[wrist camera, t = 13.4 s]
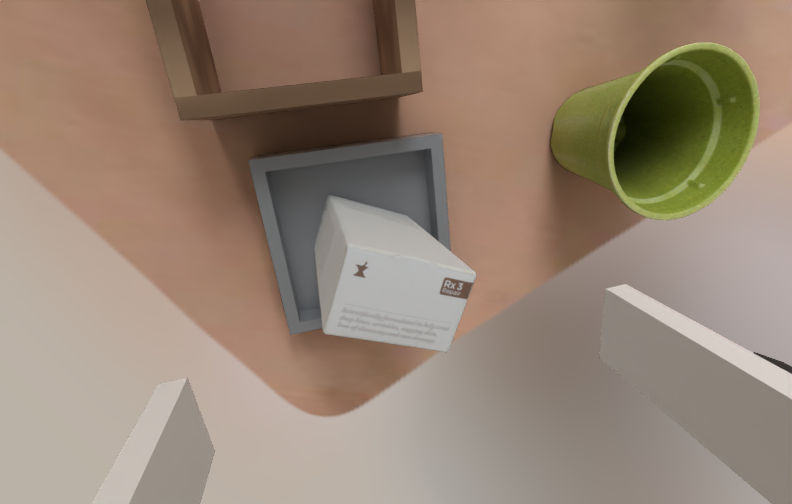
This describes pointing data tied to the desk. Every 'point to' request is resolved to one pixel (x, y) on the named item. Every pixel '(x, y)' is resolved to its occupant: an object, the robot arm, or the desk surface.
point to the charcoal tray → (351, 179)
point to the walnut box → (203, 99)
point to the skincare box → (387, 278)
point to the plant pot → (664, 130)
